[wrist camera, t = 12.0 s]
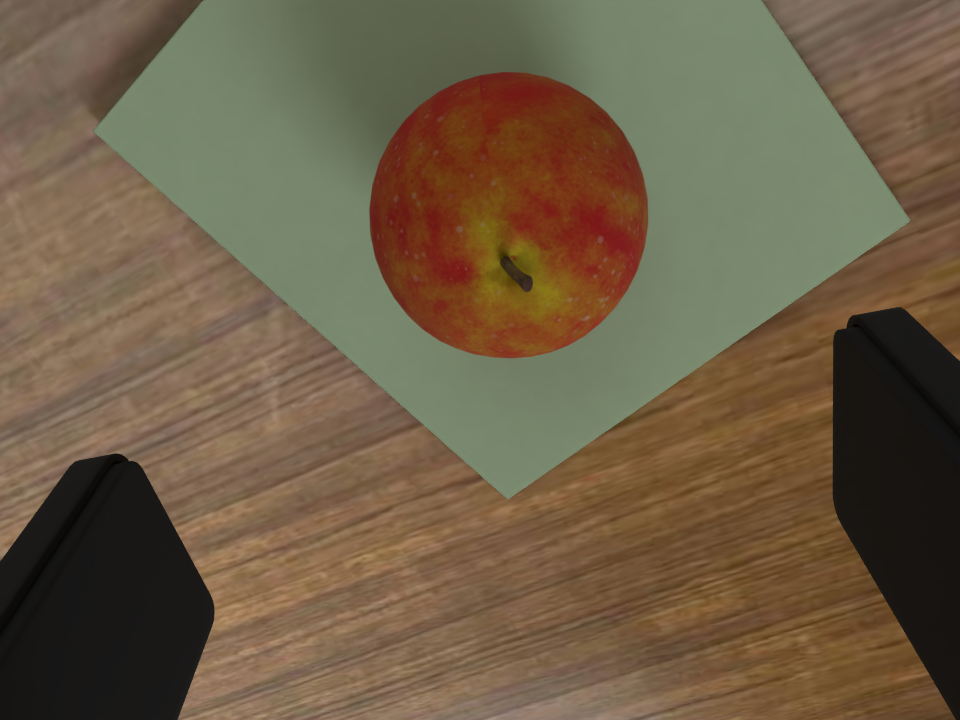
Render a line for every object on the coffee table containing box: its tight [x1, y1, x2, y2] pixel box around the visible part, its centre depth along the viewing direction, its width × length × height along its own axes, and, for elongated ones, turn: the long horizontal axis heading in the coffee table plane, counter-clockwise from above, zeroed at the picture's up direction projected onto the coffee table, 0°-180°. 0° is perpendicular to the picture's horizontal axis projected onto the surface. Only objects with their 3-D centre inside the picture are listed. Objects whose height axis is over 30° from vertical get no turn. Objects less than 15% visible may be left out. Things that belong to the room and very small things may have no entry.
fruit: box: [369, 72, 648, 358], centre depth 20 cm, size 7×7×8 cm
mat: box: [93, 0, 910, 499], centre depth 23 cm, size 18×16×1 cm
